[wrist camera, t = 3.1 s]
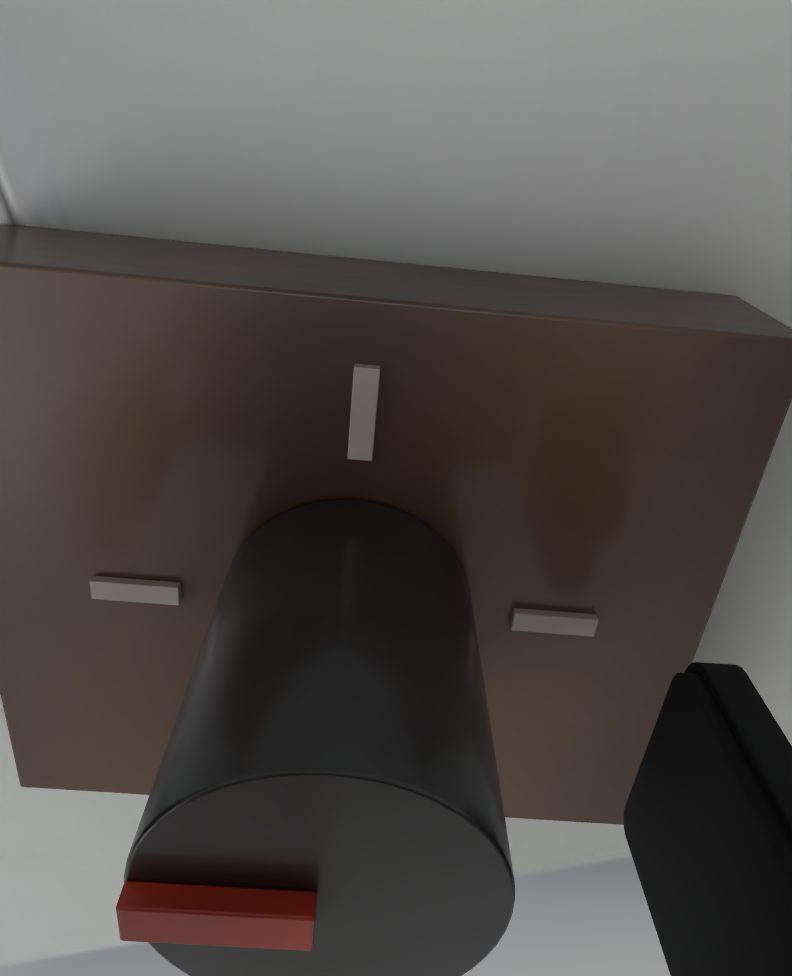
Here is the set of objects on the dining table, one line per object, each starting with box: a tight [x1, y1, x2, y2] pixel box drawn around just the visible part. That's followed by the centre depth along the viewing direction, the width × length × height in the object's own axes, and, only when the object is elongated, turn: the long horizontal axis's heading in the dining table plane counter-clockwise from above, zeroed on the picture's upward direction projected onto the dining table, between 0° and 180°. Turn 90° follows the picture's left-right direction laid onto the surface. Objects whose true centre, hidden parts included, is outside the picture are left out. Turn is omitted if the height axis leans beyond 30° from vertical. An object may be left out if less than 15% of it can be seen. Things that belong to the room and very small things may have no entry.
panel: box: [0, 224, 792, 825], centre depth 13 cm, size 12×10×3 cm
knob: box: [116, 500, 515, 976], centre depth 10 cm, size 4×4×5 cm
